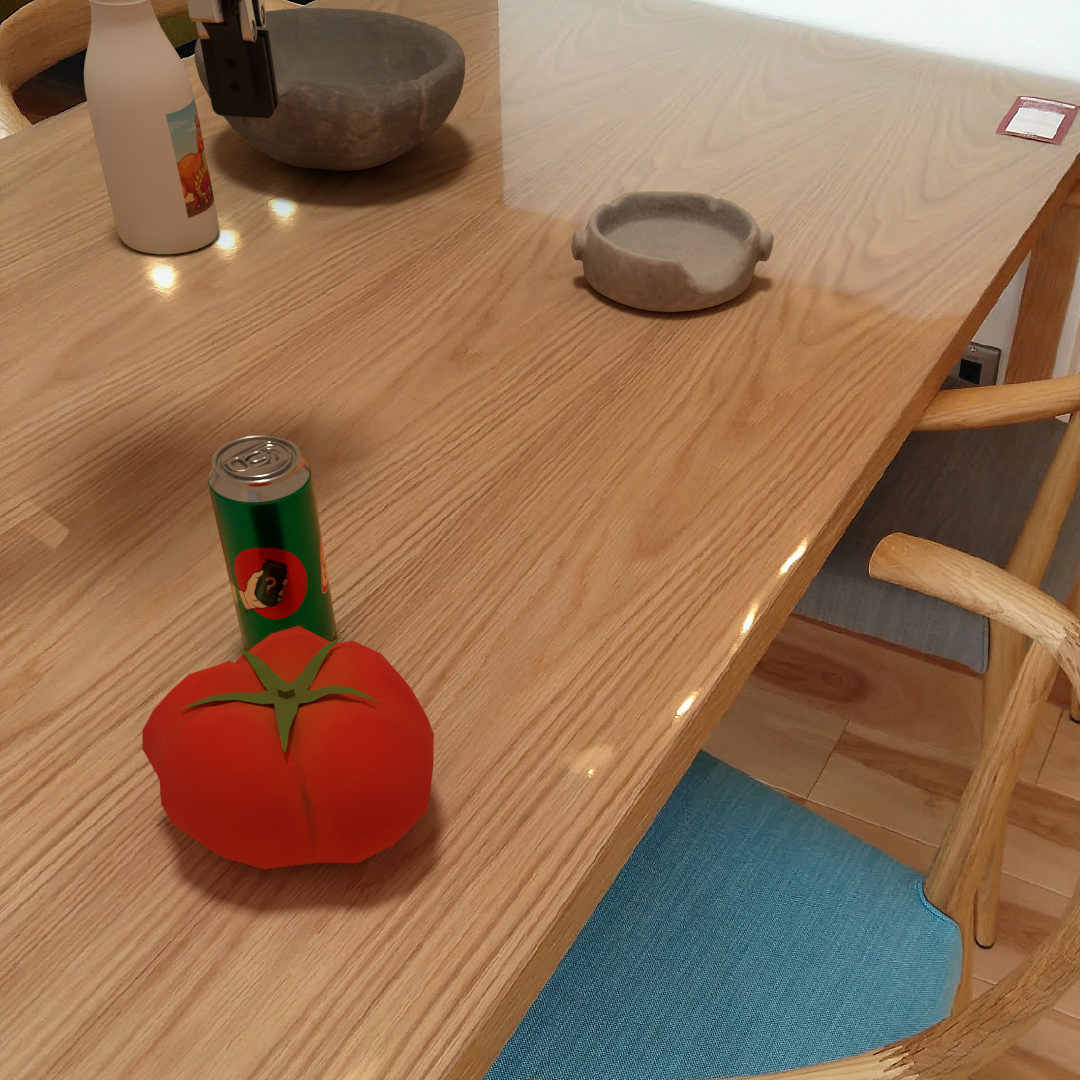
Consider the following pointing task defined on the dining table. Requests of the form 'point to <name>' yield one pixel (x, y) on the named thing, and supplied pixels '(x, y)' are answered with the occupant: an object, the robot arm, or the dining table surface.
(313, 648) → the tomato
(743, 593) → the dining table surface
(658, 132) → the dining table surface
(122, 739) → the dining table surface
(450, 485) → the dining table surface
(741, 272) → the dish
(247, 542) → the soda can
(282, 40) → the bowl
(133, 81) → the milk bottle
